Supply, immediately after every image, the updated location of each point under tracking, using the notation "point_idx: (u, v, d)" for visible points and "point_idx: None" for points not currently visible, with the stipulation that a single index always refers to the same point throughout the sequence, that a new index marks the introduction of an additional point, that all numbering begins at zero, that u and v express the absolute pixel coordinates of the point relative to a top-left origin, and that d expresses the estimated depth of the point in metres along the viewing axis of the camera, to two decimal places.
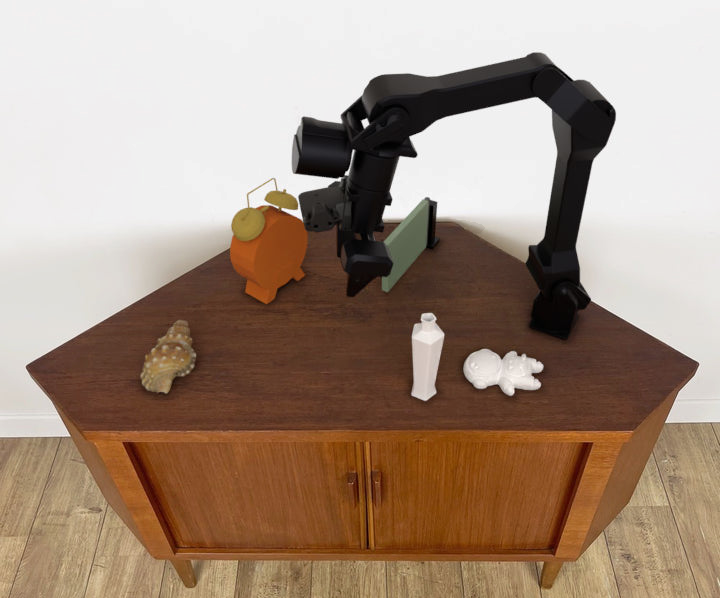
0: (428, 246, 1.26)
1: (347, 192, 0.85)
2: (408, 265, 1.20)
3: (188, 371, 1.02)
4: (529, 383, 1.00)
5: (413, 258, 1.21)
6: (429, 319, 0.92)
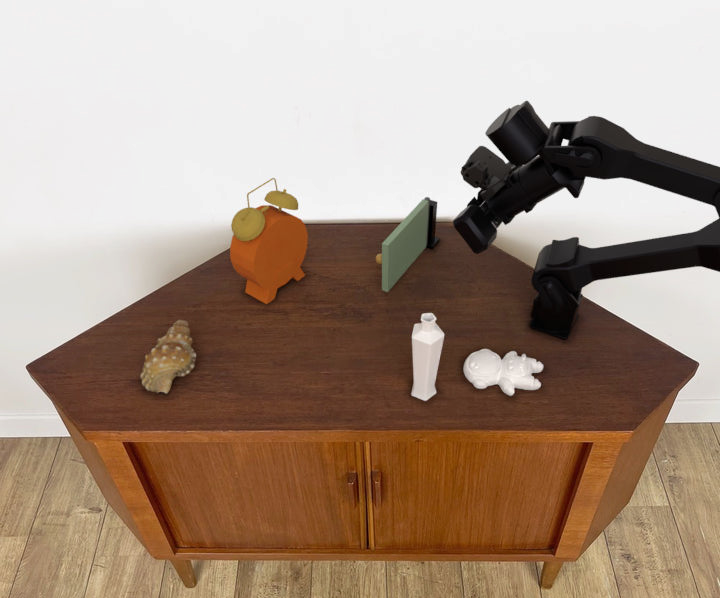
0: (428, 246, 1.26)
1: (509, 175, 0.95)
2: (408, 265, 1.20)
3: (188, 371, 1.02)
4: (529, 383, 1.00)
5: (413, 258, 1.21)
6: (429, 319, 0.92)
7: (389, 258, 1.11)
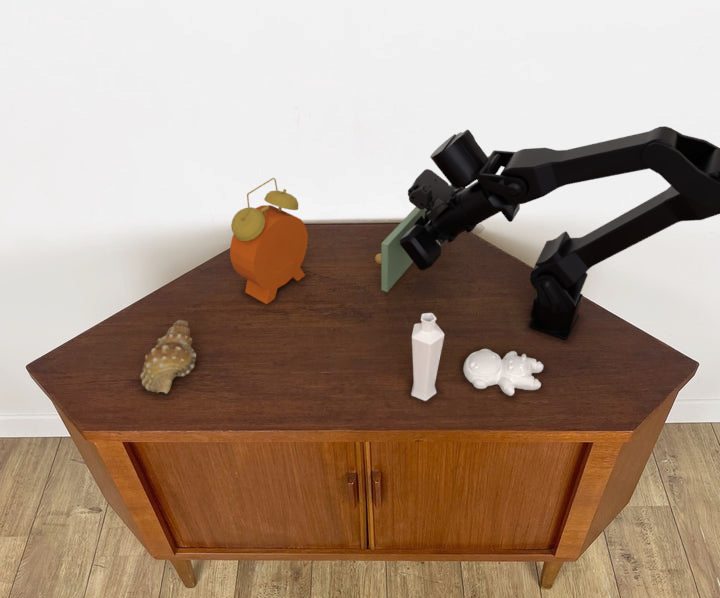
0: None
1: (451, 198, 1.02)
2: (408, 265, 1.20)
3: (188, 371, 1.02)
4: (529, 383, 1.00)
5: None
6: (429, 319, 0.92)
7: (388, 258, 1.11)
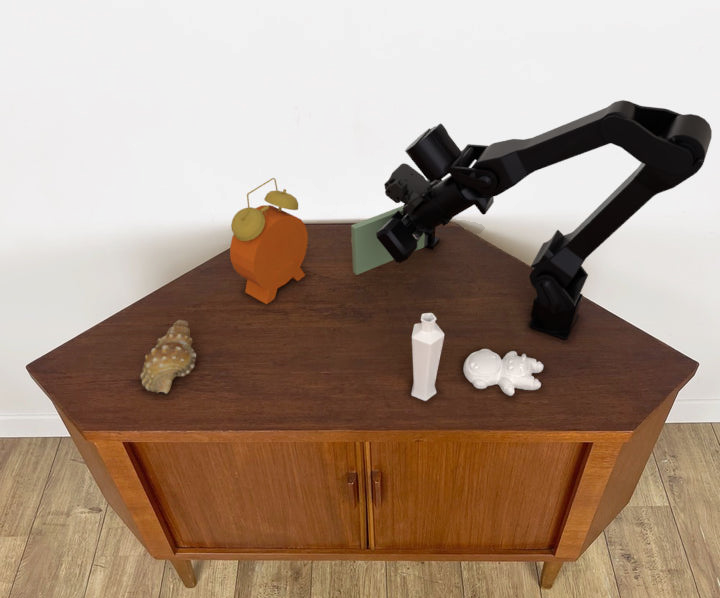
0: (428, 246, 1.26)
1: (426, 192, 1.04)
2: (392, 257, 1.22)
3: (188, 371, 1.02)
4: (529, 383, 1.00)
5: None
6: (429, 319, 0.92)
7: (357, 242, 1.14)
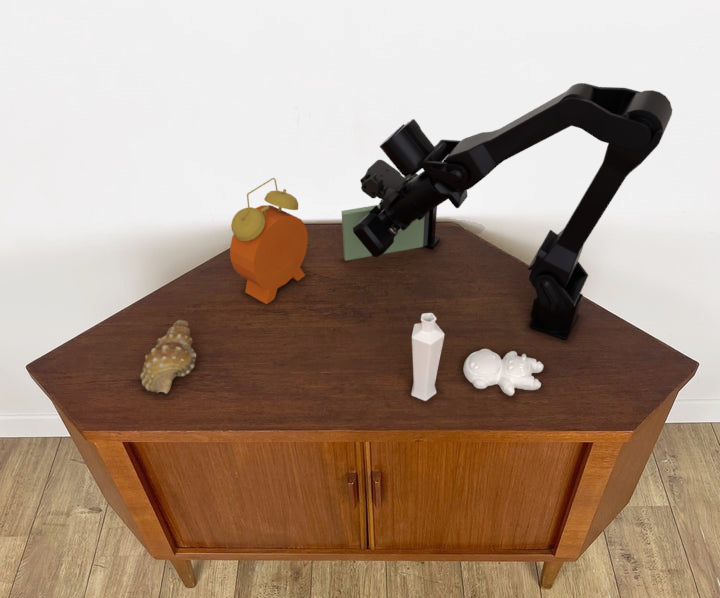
0: (428, 246, 1.26)
1: (402, 187, 1.06)
2: None
3: (188, 371, 1.02)
4: (529, 383, 1.00)
5: (396, 247, 1.23)
6: (429, 319, 0.92)
7: (346, 228, 1.17)
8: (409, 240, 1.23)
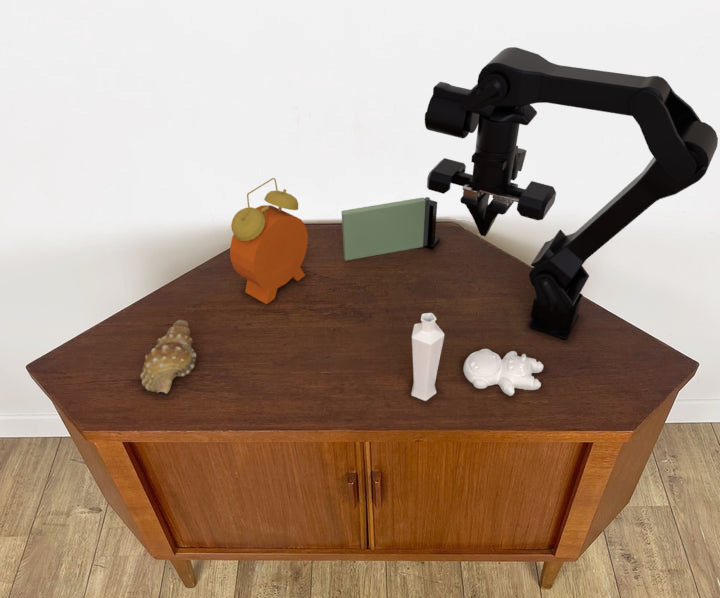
0: (428, 246, 1.26)
1: None
2: (385, 250, 1.23)
3: (188, 371, 1.02)
4: (529, 383, 1.00)
5: (396, 247, 1.23)
6: (429, 319, 0.92)
7: (346, 228, 1.17)
8: (409, 240, 1.23)
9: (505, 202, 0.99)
